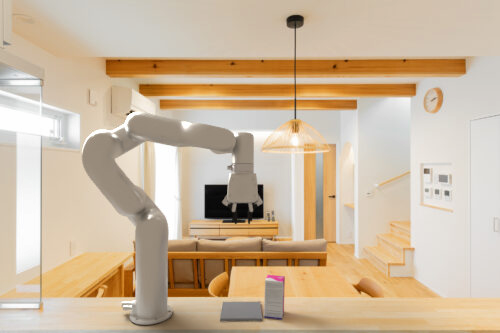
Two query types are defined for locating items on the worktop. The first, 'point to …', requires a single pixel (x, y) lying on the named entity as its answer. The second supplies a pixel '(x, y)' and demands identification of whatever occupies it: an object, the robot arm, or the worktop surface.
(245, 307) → the felt pad
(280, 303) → the supplement box
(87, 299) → the worktop surface
